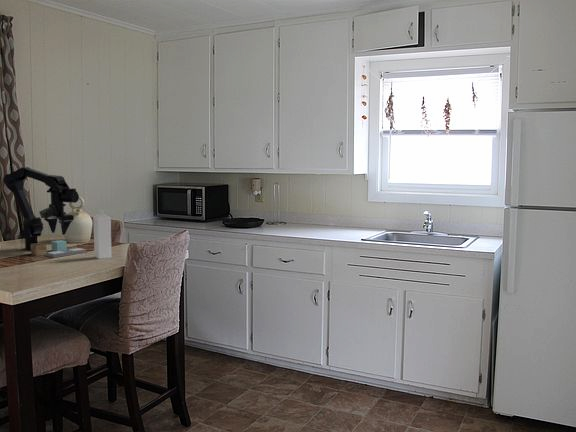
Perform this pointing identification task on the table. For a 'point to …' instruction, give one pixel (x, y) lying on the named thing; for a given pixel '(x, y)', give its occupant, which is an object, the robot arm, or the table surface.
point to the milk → (102, 235)
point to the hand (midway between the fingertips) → (58, 233)
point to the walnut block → (38, 249)
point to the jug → (79, 225)
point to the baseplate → (66, 252)
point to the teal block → (58, 245)
